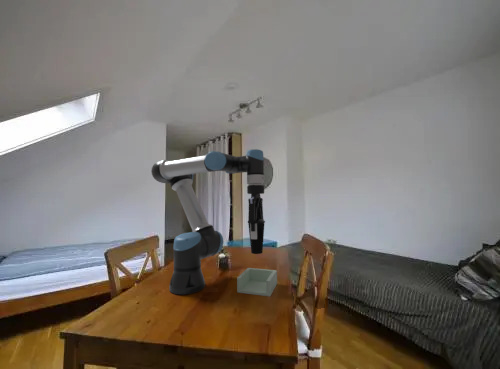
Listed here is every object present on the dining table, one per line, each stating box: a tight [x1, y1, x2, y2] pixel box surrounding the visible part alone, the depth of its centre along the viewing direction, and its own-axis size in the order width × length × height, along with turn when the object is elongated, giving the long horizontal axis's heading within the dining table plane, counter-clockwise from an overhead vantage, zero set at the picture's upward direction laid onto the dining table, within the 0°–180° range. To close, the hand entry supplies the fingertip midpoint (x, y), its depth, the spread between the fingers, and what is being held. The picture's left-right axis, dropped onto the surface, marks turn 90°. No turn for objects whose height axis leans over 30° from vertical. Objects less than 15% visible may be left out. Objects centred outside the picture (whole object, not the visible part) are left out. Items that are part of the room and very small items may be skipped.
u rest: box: [236, 267, 278, 297], centre depth 101 cm, size 14×14×6 cm
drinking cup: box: [247, 218, 266, 255], centre depth 101 cm, size 8×8×20 cm
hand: (256, 237), depth 101 cm, fingers closed on drinking cup, 7 cm apart
